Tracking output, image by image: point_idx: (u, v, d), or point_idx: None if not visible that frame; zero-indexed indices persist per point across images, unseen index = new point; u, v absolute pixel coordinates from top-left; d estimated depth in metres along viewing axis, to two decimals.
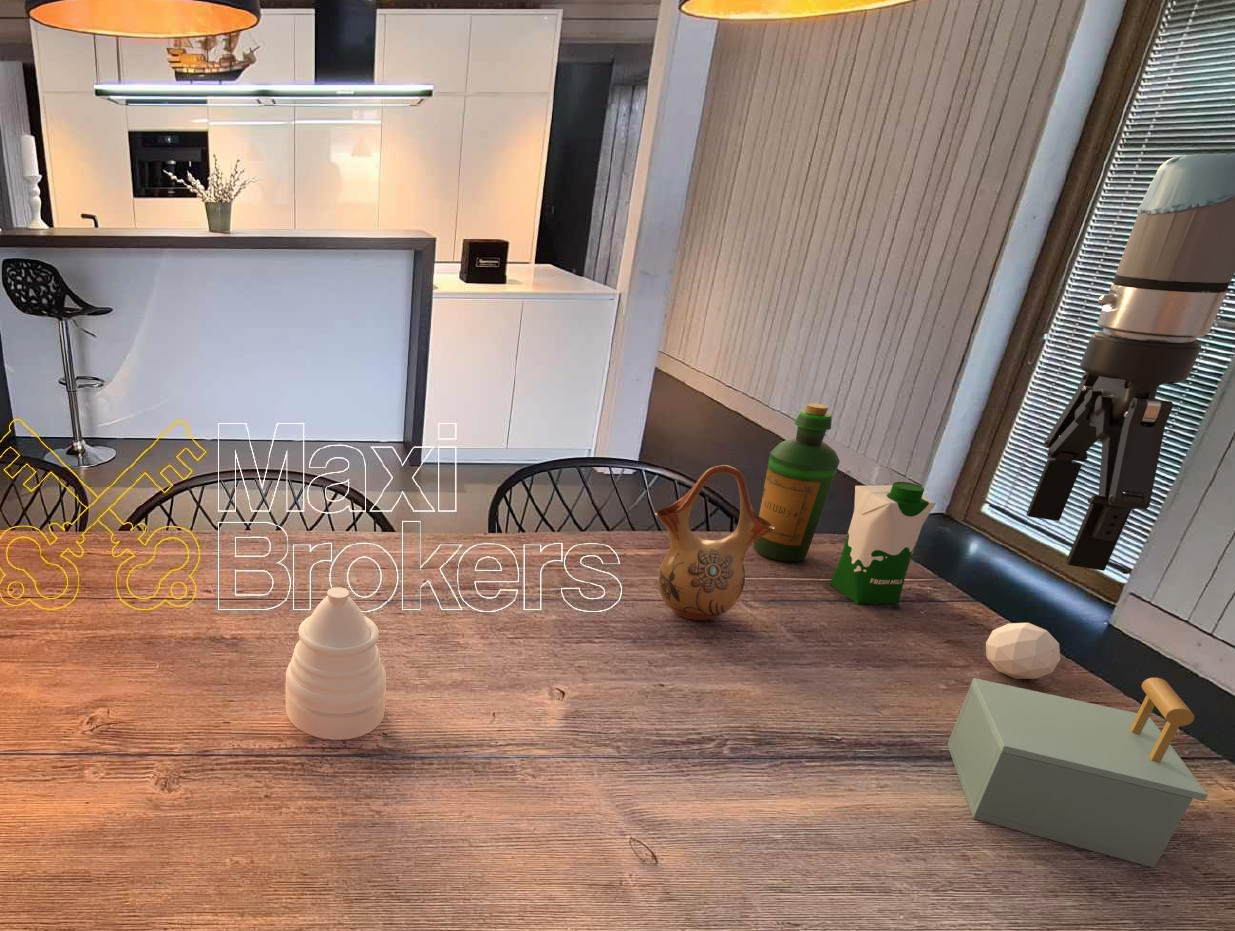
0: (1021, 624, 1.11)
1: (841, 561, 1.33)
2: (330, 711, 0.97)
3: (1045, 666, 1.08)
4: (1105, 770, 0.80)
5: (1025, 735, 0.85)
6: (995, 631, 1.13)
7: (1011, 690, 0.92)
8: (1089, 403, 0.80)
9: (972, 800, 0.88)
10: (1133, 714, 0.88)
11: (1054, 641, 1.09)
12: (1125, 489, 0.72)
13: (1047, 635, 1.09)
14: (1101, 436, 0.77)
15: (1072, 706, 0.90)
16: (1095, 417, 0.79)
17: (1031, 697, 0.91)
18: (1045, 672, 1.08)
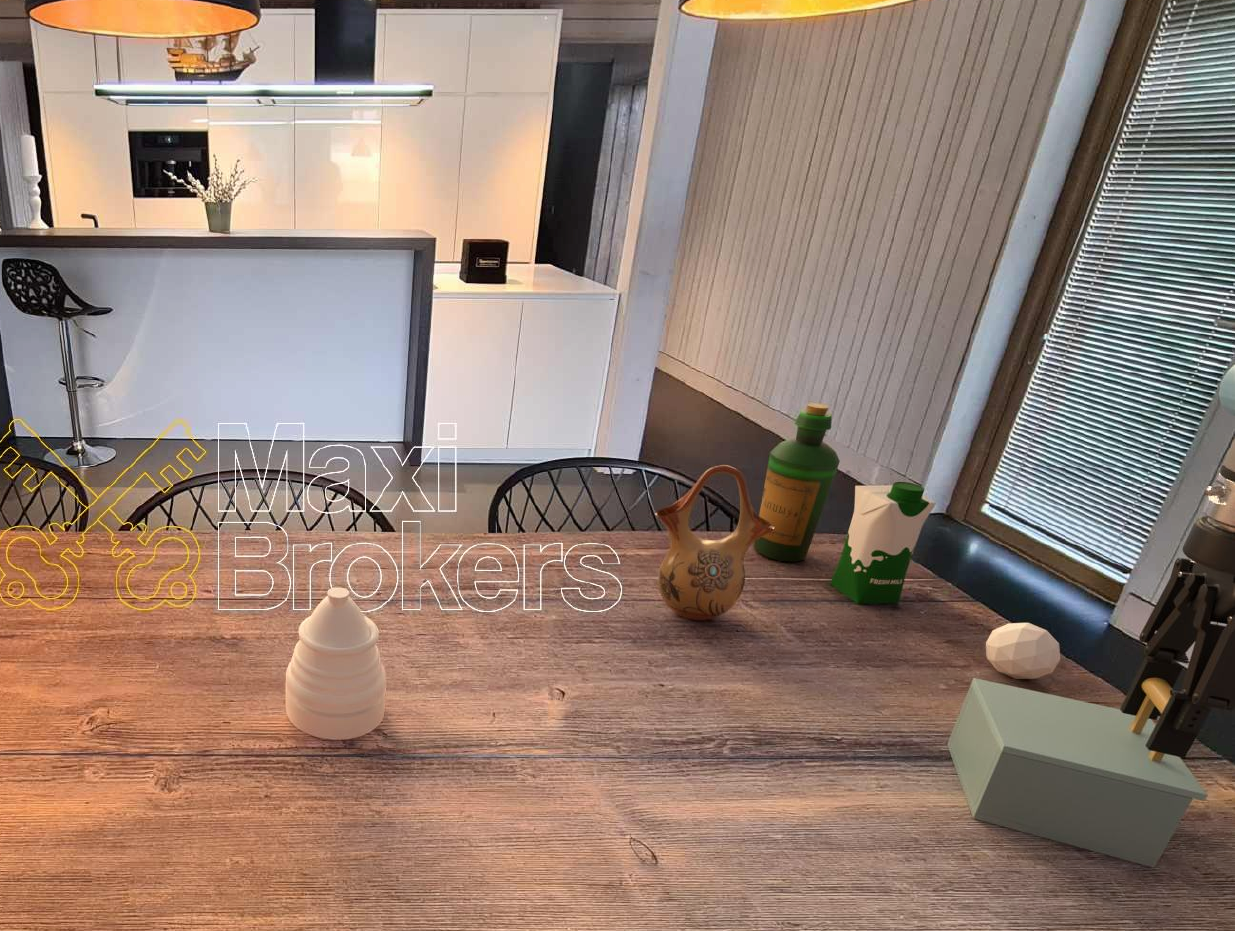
0: (1021, 624, 1.11)
1: (841, 561, 1.33)
2: (330, 711, 0.97)
3: (1045, 666, 1.08)
4: (1105, 770, 0.80)
5: (1025, 735, 0.85)
6: (995, 631, 1.13)
7: (1011, 690, 0.92)
8: (1192, 586, 0.78)
9: (972, 800, 0.88)
10: None
11: (1054, 641, 1.09)
12: (1211, 694, 0.74)
13: (1047, 635, 1.09)
14: (1198, 628, 0.76)
15: (1072, 706, 0.90)
16: (1197, 601, 0.78)
17: (1031, 697, 0.91)
18: (1045, 672, 1.08)
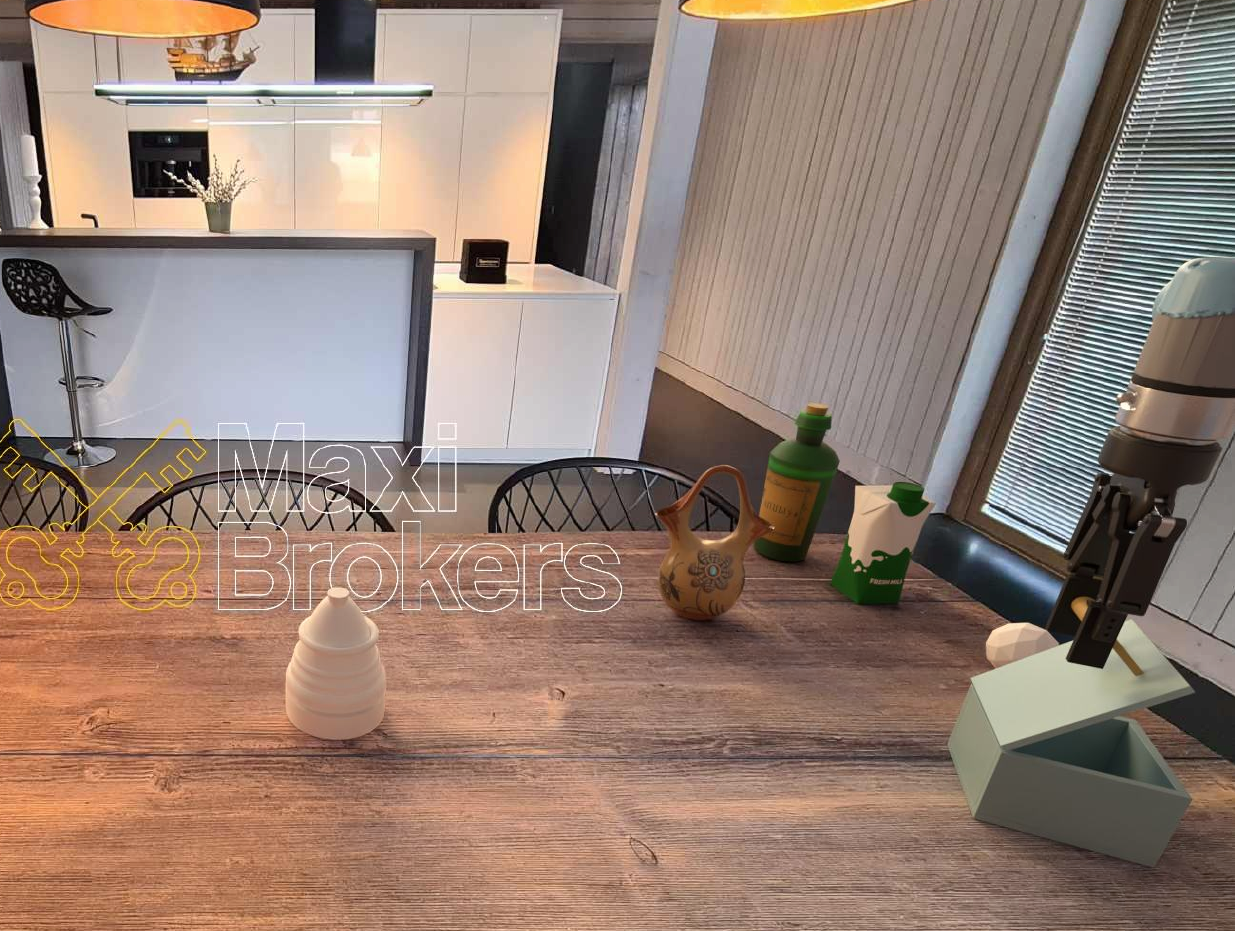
0: (1021, 624, 1.11)
1: (841, 561, 1.33)
2: (330, 711, 0.97)
3: None
4: (1093, 716, 0.79)
5: (1019, 720, 0.85)
6: (995, 631, 1.13)
7: (1004, 671, 0.92)
8: (1108, 497, 0.79)
9: (972, 800, 0.88)
10: None
11: (1054, 641, 1.09)
12: (1123, 599, 0.75)
13: (1047, 635, 1.09)
14: (1112, 536, 0.77)
15: (1060, 654, 0.88)
16: (1113, 512, 0.78)
17: (1023, 667, 0.90)
18: None
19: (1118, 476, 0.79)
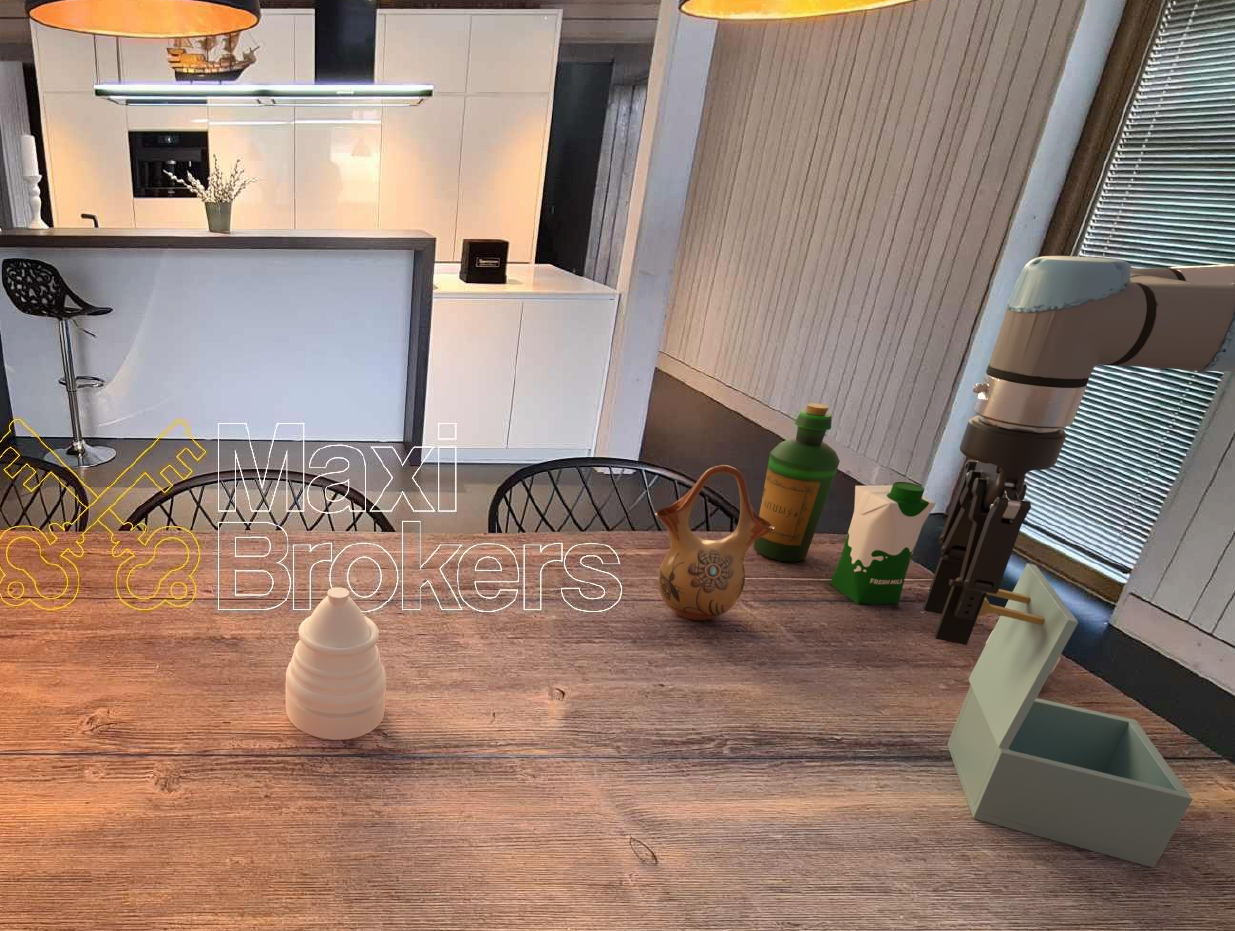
0: None
1: (841, 561, 1.33)
2: (330, 711, 0.97)
3: None
4: (1033, 683, 0.80)
5: (1000, 712, 0.85)
6: None
7: (982, 660, 0.93)
8: (970, 482, 0.83)
9: (972, 800, 0.88)
10: (1022, 577, 0.88)
11: None
12: (978, 578, 0.79)
13: None
14: (971, 519, 0.82)
15: (1003, 624, 0.90)
16: None
17: (990, 651, 0.91)
18: None
19: (980, 463, 0.83)
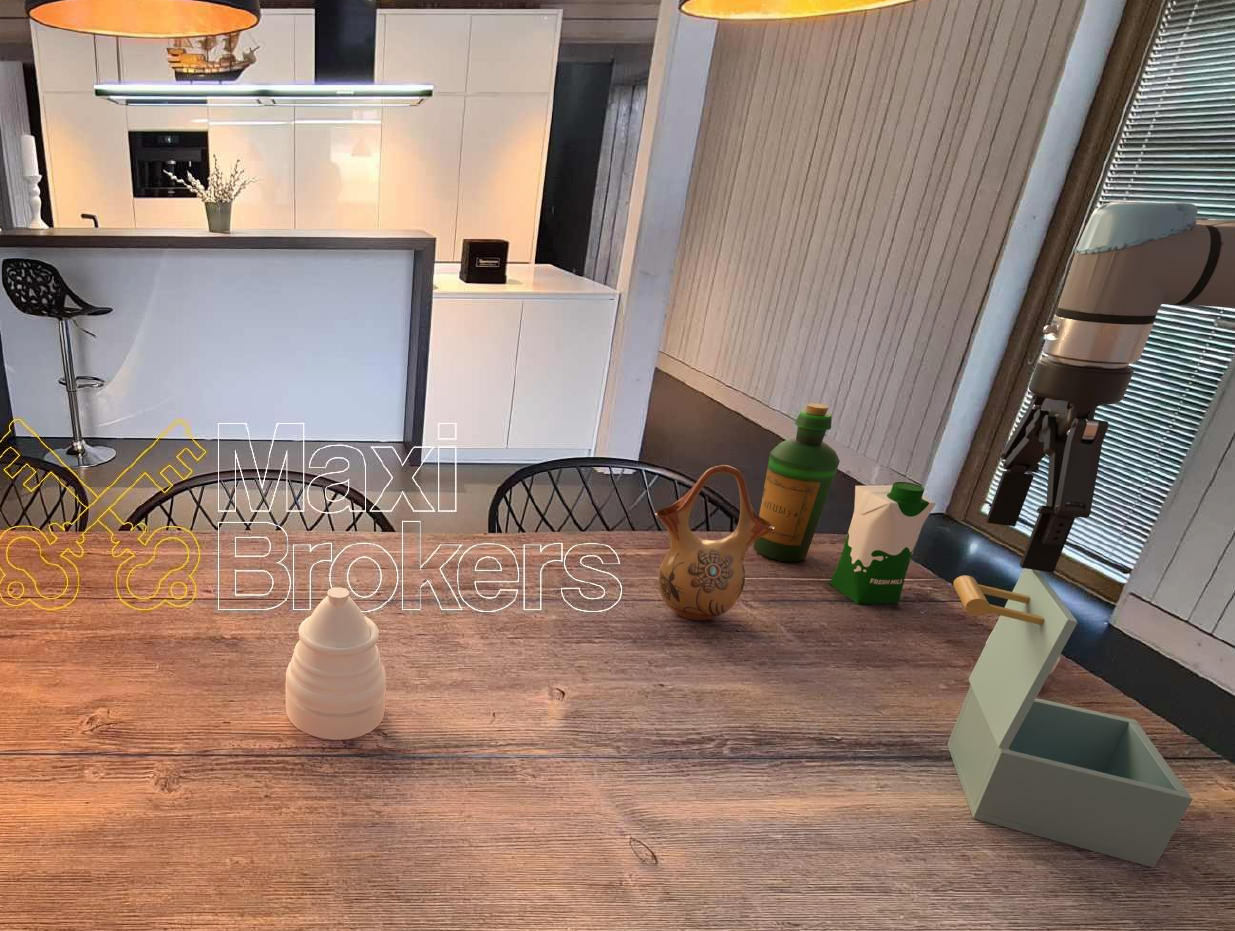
0: None
1: (841, 561, 1.33)
2: (330, 711, 0.97)
3: None
4: (1033, 683, 0.80)
5: (1000, 712, 0.85)
6: None
7: (982, 660, 0.93)
8: (1037, 421, 0.88)
9: (972, 800, 0.88)
10: (1022, 577, 0.89)
11: None
12: (1068, 500, 0.81)
13: None
14: (1048, 452, 0.85)
15: (1003, 624, 0.90)
16: (1043, 434, 0.88)
17: (989, 651, 0.91)
18: None
19: (1047, 405, 0.88)
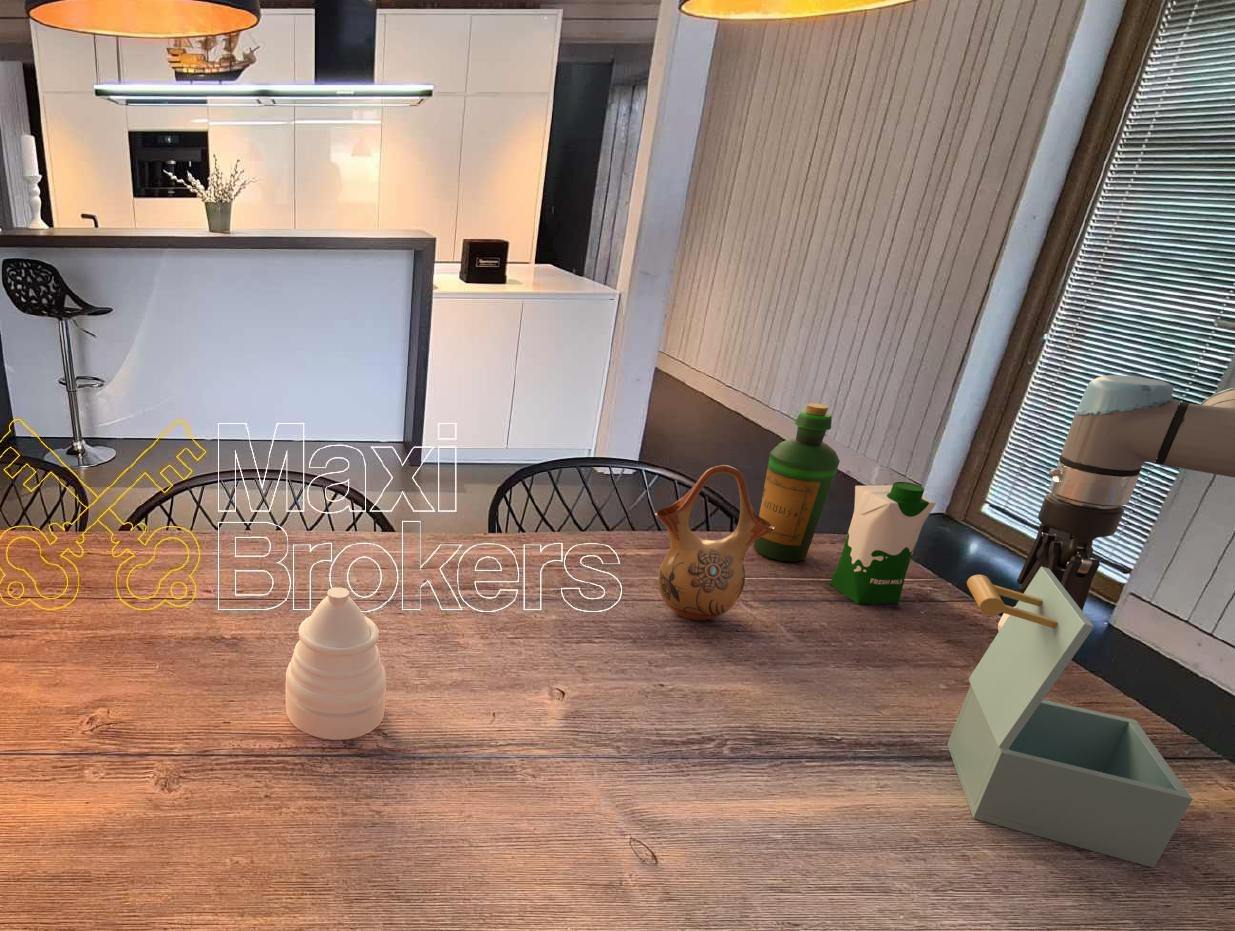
0: None
1: (841, 561, 1.33)
2: (330, 711, 0.97)
3: None
4: (1041, 685, 0.80)
5: (1002, 712, 0.85)
6: None
7: (985, 661, 0.92)
8: (1046, 544, 1.07)
9: (972, 800, 0.88)
10: (1034, 580, 0.88)
11: None
12: None
13: None
14: None
15: (1011, 626, 0.90)
16: None
17: (994, 652, 0.91)
18: None
19: (1054, 529, 1.07)
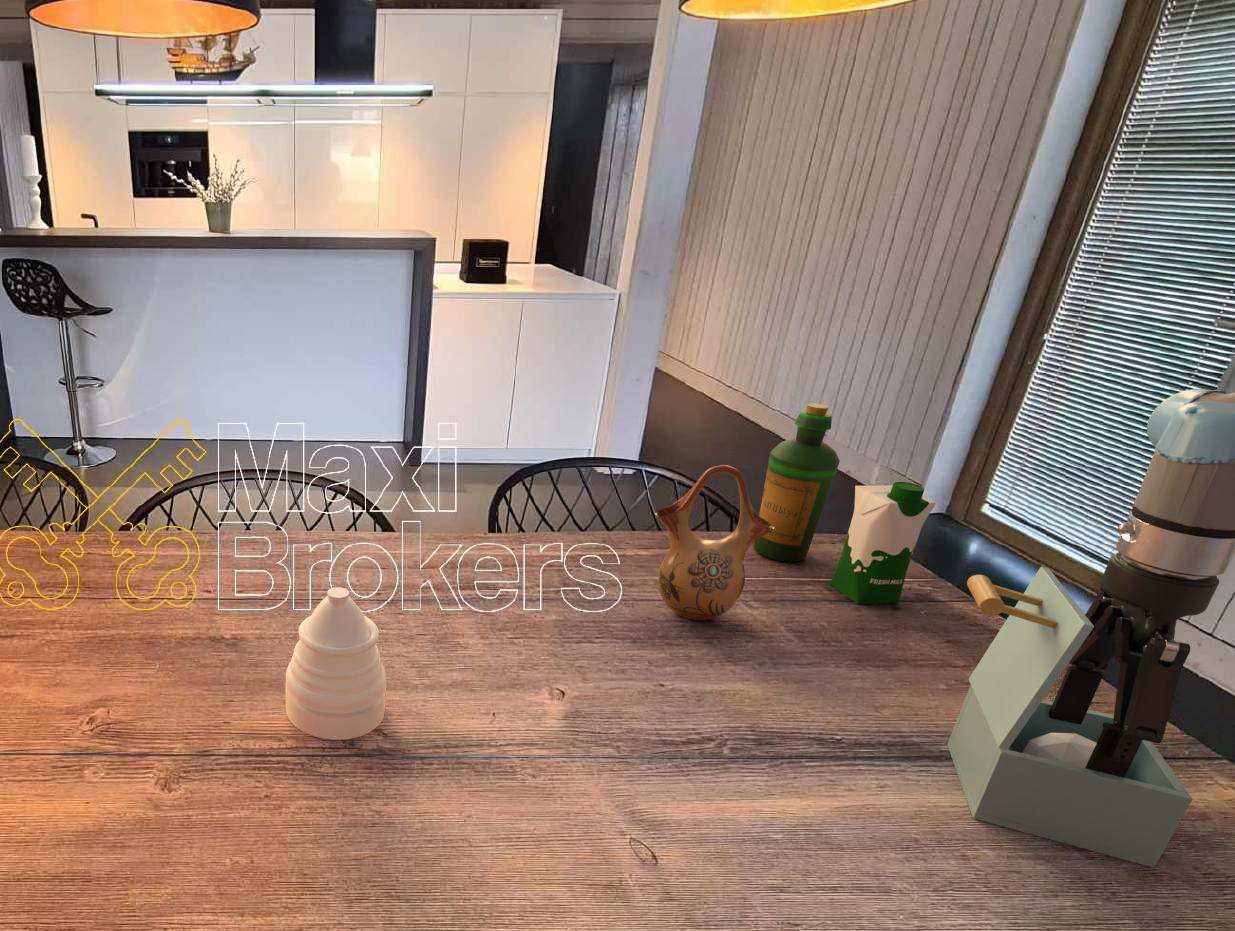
0: (1067, 736, 0.87)
1: (841, 561, 1.33)
2: (330, 711, 0.97)
3: None
4: (1041, 685, 0.80)
5: (1002, 712, 0.85)
6: (1033, 742, 0.89)
7: (985, 661, 0.92)
8: (1110, 618, 0.82)
9: (972, 800, 0.88)
10: (1034, 580, 0.88)
11: None
12: (1139, 724, 0.76)
13: None
14: (1119, 659, 0.79)
15: (1011, 626, 0.90)
16: (1115, 633, 0.82)
17: (994, 652, 0.91)
18: None
19: None
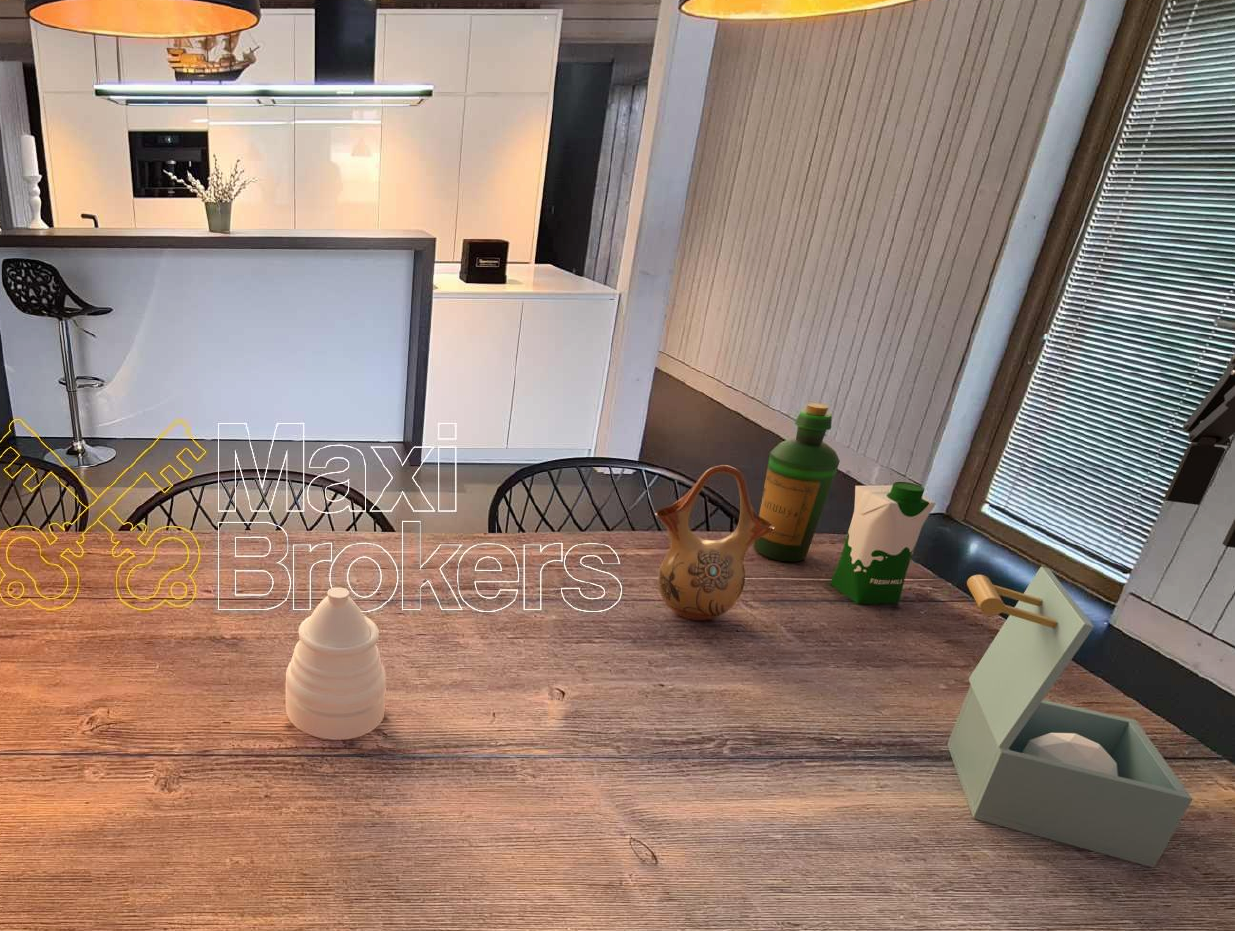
0: (1067, 736, 0.87)
1: (841, 561, 1.33)
2: (330, 711, 0.97)
3: None
4: (1041, 685, 0.80)
5: (1002, 712, 0.85)
6: (1033, 742, 0.89)
7: (985, 661, 0.92)
8: None
9: (972, 800, 0.88)
10: (1034, 580, 0.88)
11: (1110, 760, 0.85)
12: None
13: (1101, 753, 0.85)
14: None
15: (1011, 626, 0.90)
16: None
17: (994, 652, 0.91)
18: None
19: None
